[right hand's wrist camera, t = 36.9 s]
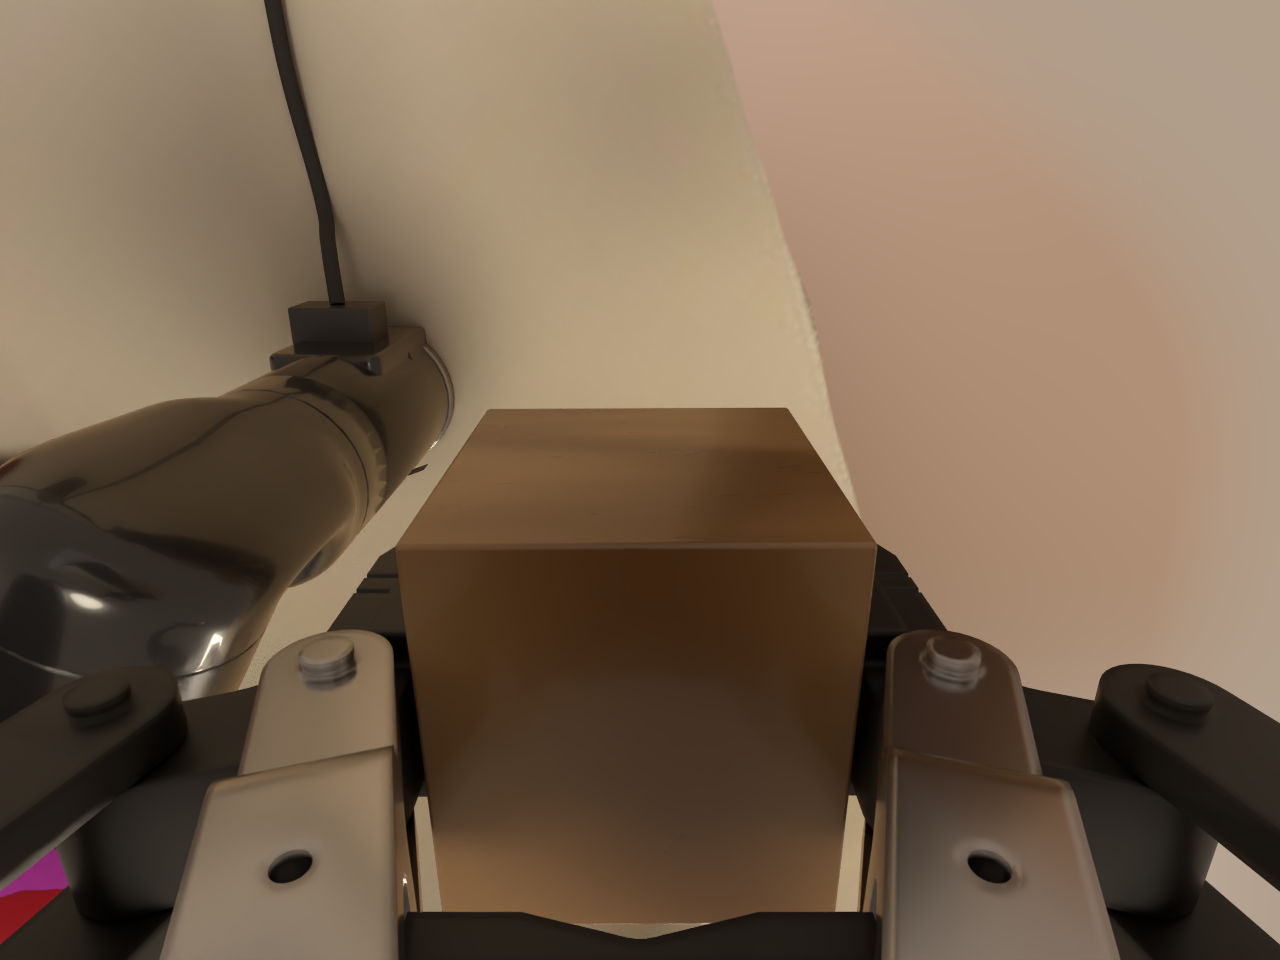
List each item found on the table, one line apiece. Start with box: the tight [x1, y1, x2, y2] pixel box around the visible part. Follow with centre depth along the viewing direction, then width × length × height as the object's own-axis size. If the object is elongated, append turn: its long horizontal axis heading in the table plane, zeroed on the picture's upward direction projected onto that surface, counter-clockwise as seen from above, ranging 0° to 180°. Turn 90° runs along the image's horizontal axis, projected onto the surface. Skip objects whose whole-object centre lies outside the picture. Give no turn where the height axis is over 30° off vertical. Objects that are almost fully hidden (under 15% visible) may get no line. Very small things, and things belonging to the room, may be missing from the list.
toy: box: [0, 848, 68, 944], centre depth 56 cm, size 18×18×15 cm
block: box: [395, 408, 877, 924], centre depth 10 cm, size 4×5×5 cm
